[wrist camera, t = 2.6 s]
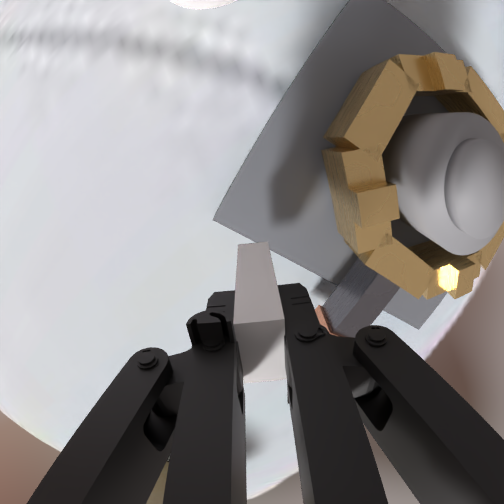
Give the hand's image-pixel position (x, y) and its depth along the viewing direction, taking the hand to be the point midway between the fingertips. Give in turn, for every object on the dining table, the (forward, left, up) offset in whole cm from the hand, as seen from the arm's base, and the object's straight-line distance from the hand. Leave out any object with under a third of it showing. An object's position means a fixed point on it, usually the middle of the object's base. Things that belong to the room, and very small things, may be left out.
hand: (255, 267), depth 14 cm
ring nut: (-7, +7, -2) cm, 10 cm away
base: (-10, +7, -4) cm, 13 cm away
